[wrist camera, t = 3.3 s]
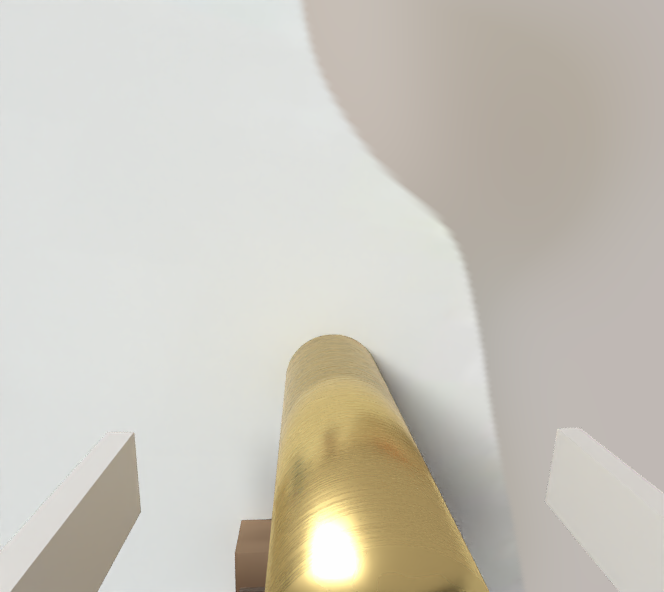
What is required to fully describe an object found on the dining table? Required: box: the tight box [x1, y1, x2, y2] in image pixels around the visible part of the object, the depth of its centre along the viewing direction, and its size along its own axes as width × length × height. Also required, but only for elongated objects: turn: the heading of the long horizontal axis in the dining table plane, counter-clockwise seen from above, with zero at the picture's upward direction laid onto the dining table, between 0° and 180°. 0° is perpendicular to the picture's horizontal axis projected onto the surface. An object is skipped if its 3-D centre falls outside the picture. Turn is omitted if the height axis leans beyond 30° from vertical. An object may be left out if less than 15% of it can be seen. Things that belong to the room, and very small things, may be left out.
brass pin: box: [265, 335, 489, 592], centre depth 13 cm, size 4×4×12 cm
